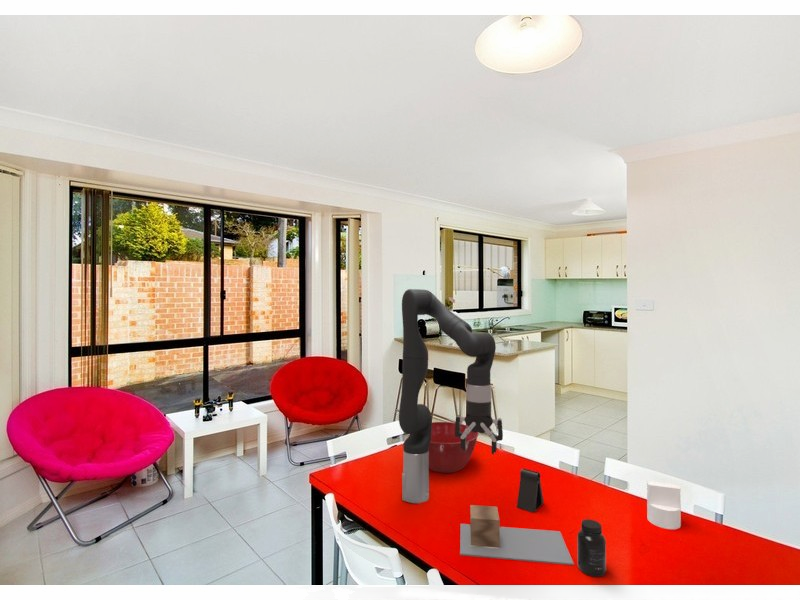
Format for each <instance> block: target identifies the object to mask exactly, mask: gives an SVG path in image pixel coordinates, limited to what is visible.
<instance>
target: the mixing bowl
mask: <svg viewBox="0 0 800 600" xmlns="http://www.w3.org/2000/svg"><path fill="white" fill-rule="evenodd" d="M467 427H468V426H467V424H463V423H462V424H460V432H461V433H463V432H464V431H465V429H466V428H467ZM478 437H479V432H477V433H474V432H472V431H470V432H469V434H468V435H467V436H466V451H463V449H461V439H460V437H458V436H457V437H456V436H455V422H450V421H432V430H431V442H430V445H429V470H431V471H434V472H436V471H437V473H445V474H447V473H451V474H452V473H456V472H459V471H461V470H463V468H465V467H466V466H467V464H468V463H469V461H470V458H471V457H472V455H473V454H474V453H473V452H474V450H475V447H476V444H477V441H478Z"/></svg>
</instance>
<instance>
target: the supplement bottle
mask: <svg viewBox="0 0 800 600" xmlns="http://www.w3.org/2000/svg"><path fill="white" fill-rule="evenodd" d="M580 524H581V526H580V530H579V531H578V532H577V537H576V539H577V544H576V546H577V549H576V550H577V567H578V568H579V570H580V571H581V572H582V573H583V574H585V575H587V576H590V577H597V578H598V577H602V576H604V575H605V574H606V572H607V546H606V545H607V544H606V543H607V542H606V537H605V536H604V534H603V533H602V532H603V530H602V523H600V522H599V521H596V520H594V519H589V518H588V519H585V518H584V519H583V520H581V523H580Z"/></svg>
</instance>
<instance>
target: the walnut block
mask: <svg viewBox="0 0 800 600" xmlns="http://www.w3.org/2000/svg"><path fill="white" fill-rule="evenodd" d="M469 506H470V508H469V510H470V513H469V515H470V517H469V518H470V535H471V546H473V547H485V548H496V549H500V536H499V527H500V515H499V511H498V506H494V505H493V506H491V505H476V504H475V505H474V504H470V505H469Z"/></svg>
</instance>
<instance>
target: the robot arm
mask: <svg viewBox="0 0 800 600" xmlns="http://www.w3.org/2000/svg"><path fill="white" fill-rule="evenodd" d="M437 297H438V296H436V295H435V294H434V293H432V291H430V290H428V289H416V288H414V289H413V288H409V289H407V290H405V291H404V292H403V295H402V298H401V315H402V316H401V317H402V329H403V330H402V332H403V333H402V335H403V336H402V337H403V340H402V344H403V345H402V365H401V366H402V375H401V376H402V378H401V379H402V380H401V395H400V400H399V401H400V402H399V410H398V424H399V427H400V430H401V431H403V433H405V434H407V435H408V437H407V438H406V439H405V440H404V442H403V446H402V450H403V452H402V453H403V456H402V458H403V459H402V460H403V462H402V464H403V466H402V468H403V469H402V470H403V471H402V474H401V478H402V480H401V481H402V483H401V485H402V487H401V488H402V491H401V493H402V497H401V498H402V499H401V500H402V501H404V502H408V503H411V504H421V503H422V504H423V503H425V502H427V501H429V498H430V488H429V487H430V473H429V472H430V469H429V445H430V442H431V430H432V422H433V418H432V413H431V411H430V409H429V408H428V406H427V405H425V404H423V403H419V402H418V401H419V393H420V391H421V388H422V387H423V383H424V382H425V380H426V377H427V374H428V370H429V350H428V347H427V345H426V342H425V341H424V339H423V337H422V335H421V333H420V330H419V329H420V328H419V322H418V321H419V319H418V318H419V316H424V315H427V316H429V317H431V318H433V319H435V320H436V321H437V324H438V327H439V328H440V330H441V331H442V332H443V333H444V334H445V335H446V336H447V337H449V338H450V339H452V340H453V341H454V342H455V344H456V345H457V346H458V348H459V349H460V350H461V352H462V353H463V354H465V355H466V356H469V357H471V358H472V357H473V358H474V357H475V360H474V362H472V363H471V364H469V365H467V370H466V391H465V392H466V393H465V396H466V397H465V405H466V406H465V410H466V411H465V416H461V415H460V414H457V416H456V417H455V422H454V423H455V436H456V437H457V436H458V437H460V439H461V449H463V451H466V436H467V435H468V434H469V432H470V431H472V432H474V433H477V432H478V434H479V433H480V434H484V433H486V435H487V436H488V437H489V438H490V439H491V455H495V453H497V448H498V447H497V443H498V442H499V441H502V440H503V437H504V432H503V420H502V418H501V417H500V418H497V419H496V418H495V419H493V417H492V398H493V397H492V388H491V369H492V366H493V362H494V359H495V356H496V355H495V354H496V350H497V349H496V348H497V345H496V341H495V338H494V337H493V335H492V334H491V333H487V332H478V333H477V332H475V333H474V332H473V329H472V326H471V325H470V324H469V323H468V322H466V321H465V320H464V319H462V318H461V317H459V316H457V314H455V313H454V312H452V310H450V309H449V308H448V307H446V305H445V304H443V302H441V300H439V299H438V298H437ZM463 422H464V423H465V425H467V426H468V427H467V428H466V429H465V431H464V432H463V433H461V432H460V424H463ZM493 424H494V426H495V427H496V428H497V434H498V435H496V434H495V432H494V431H493V430H492V428H491V426H492V425H493Z"/></svg>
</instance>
